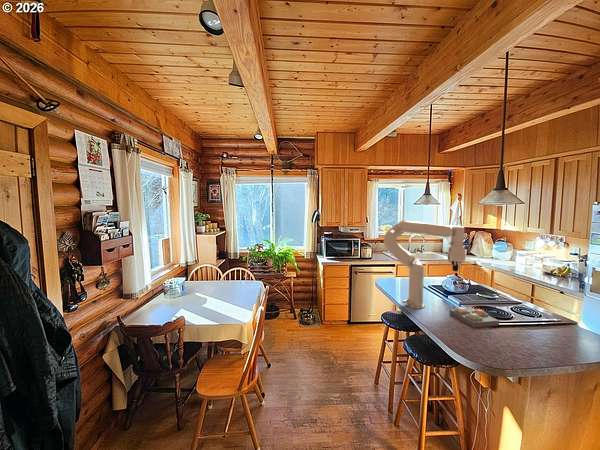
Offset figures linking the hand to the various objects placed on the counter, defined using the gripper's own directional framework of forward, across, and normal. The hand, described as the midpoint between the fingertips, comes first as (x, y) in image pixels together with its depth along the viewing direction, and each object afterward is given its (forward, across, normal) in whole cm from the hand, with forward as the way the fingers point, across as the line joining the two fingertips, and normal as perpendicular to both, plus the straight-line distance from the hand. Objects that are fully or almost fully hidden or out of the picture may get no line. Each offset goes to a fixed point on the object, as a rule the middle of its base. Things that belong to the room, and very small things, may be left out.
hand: (455, 270), depth 184 cm
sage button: (+24, -2, -22) cm, 33 cm away
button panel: (+27, +2, -17) cm, 32 cm away
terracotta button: (+24, +6, -17) cm, 30 cm away
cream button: (+24, -2, -12) cm, 27 cm away
